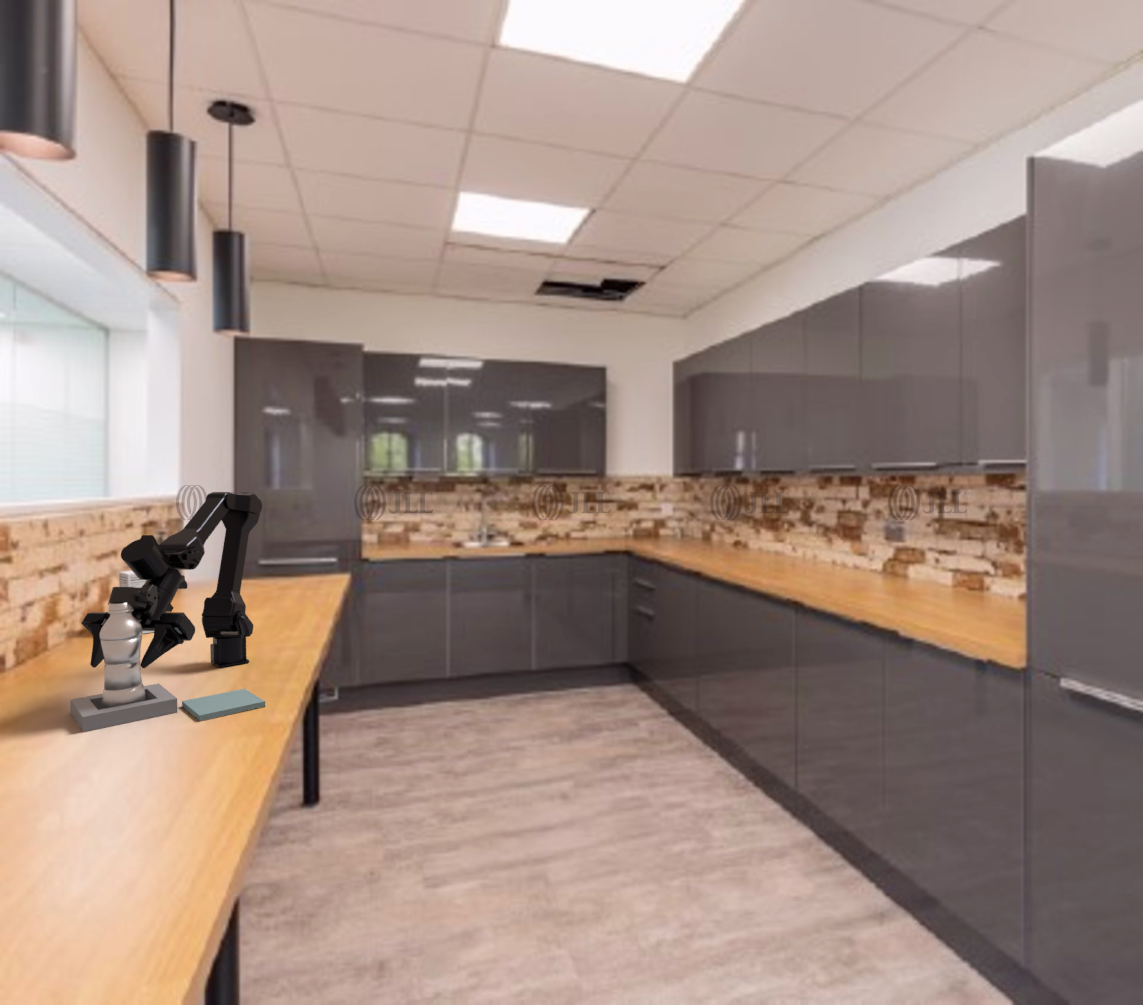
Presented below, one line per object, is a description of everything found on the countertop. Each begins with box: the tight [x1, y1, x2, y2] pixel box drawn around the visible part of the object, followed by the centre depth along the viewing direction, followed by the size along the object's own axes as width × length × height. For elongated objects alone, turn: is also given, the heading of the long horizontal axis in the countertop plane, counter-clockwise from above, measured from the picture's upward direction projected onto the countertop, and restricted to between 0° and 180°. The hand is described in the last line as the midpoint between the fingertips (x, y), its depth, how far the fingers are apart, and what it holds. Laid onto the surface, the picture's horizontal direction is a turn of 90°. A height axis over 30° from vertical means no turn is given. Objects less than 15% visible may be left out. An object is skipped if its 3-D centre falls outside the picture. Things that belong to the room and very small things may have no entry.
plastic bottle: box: [100, 603, 145, 709], centre depth 124 cm, size 6×7×20 cm
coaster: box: [181, 688, 266, 722], centre depth 128 cm, size 11×11×1 cm
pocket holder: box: [69, 682, 178, 733], centre depth 125 cm, size 14×13×2 cm
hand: (117, 666), depth 123 cm, fingers open, 9 cm apart
